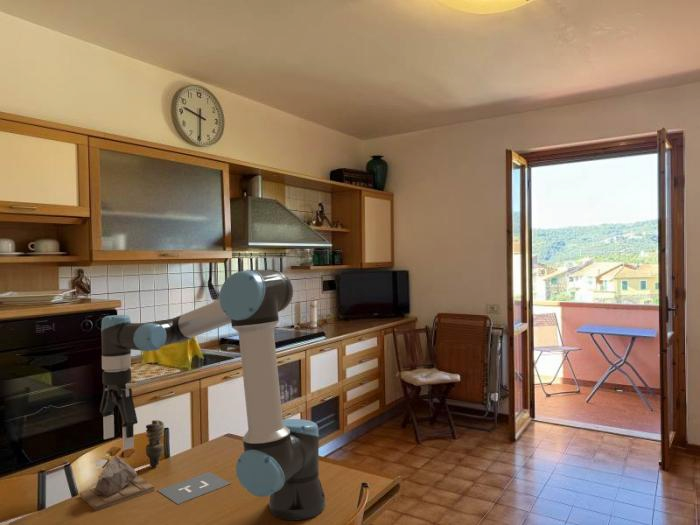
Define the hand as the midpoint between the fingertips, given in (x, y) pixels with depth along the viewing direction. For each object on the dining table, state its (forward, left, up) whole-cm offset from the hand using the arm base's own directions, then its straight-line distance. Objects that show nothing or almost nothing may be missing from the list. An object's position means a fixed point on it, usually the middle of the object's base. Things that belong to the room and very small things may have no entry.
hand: (118, 443), depth 141 cm
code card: (-13, -17, -15) cm, 26 cm away
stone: (+1, 0, -13) cm, 13 cm away
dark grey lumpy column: (+10, -16, -15) cm, 24 cm away
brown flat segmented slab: (0, 0, -15) cm, 15 cm away
